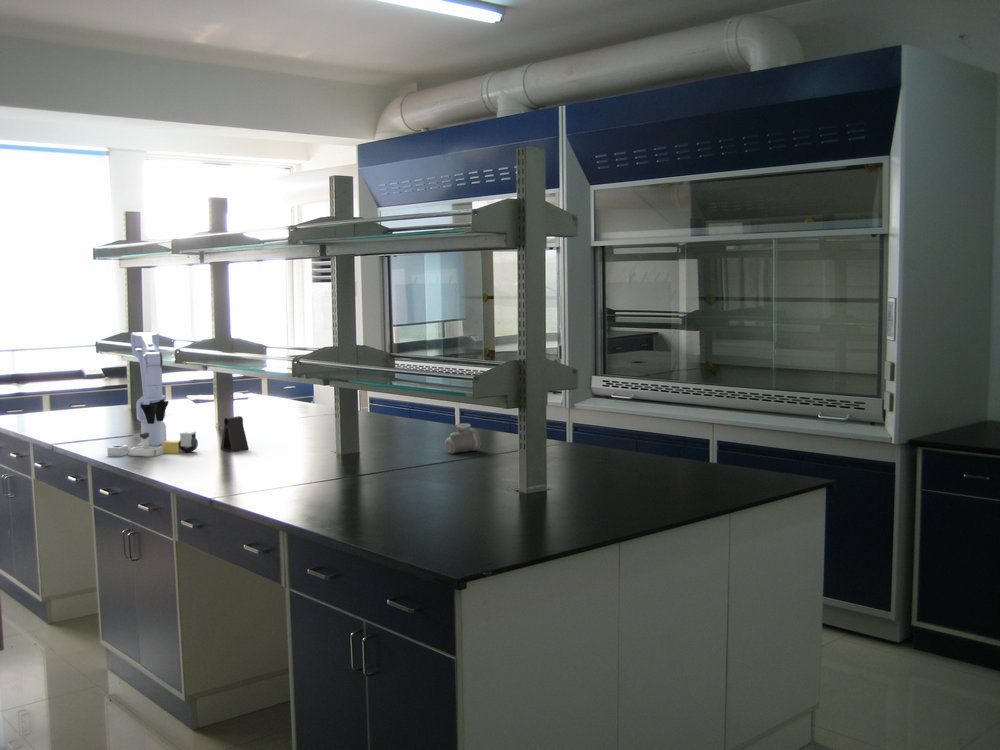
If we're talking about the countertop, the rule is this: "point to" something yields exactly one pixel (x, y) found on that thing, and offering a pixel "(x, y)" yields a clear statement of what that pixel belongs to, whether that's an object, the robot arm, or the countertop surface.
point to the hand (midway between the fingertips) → (155, 422)
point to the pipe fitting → (463, 439)
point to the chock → (171, 446)
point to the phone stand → (234, 435)
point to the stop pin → (144, 440)
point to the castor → (188, 441)
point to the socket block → (118, 450)
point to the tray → (145, 451)
